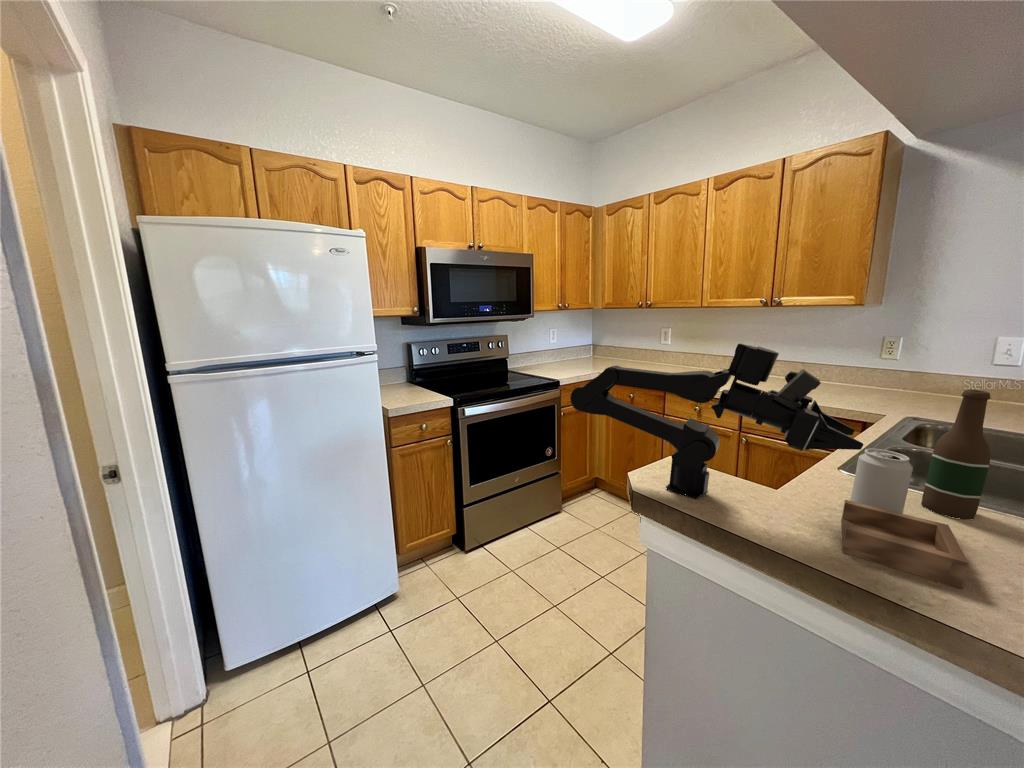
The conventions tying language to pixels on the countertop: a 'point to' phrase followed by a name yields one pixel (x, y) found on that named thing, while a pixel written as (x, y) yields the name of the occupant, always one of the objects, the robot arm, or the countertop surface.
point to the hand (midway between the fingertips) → (857, 439)
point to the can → (882, 480)
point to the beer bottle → (960, 462)
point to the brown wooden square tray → (903, 543)
